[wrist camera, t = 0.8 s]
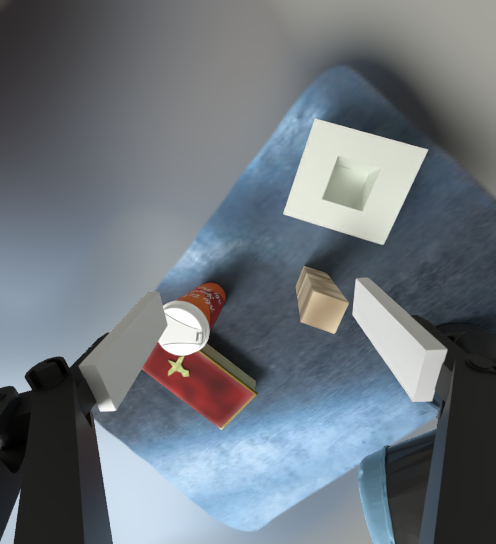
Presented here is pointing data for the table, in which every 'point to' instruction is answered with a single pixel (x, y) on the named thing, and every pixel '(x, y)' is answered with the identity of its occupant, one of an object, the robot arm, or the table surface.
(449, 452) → the robot arm
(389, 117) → the table surface
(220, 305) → the paper cup
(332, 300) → the maple peg
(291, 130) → the table surface
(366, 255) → the table surface
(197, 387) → the hardcover book
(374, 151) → the socket block
